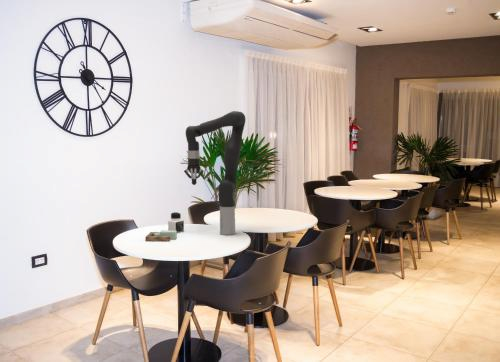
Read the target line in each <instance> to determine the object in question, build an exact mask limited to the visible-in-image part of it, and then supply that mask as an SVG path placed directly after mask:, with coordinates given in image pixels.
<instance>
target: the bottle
mask: <svg viewBox="0 0 500 362" xmlns="http://www.w3.org/2000/svg"><path fill="white" fill-rule="evenodd" d="M158 232H159V233H153V236H170V241H172V240H173V241H175V240H177V238H178V236H177V235H178V233H177V231H168V230H167V229H166V230H165V229H164V230H160V231H158Z"/></svg>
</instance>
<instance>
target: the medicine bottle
mask: <svg viewBox="0 0 500 362" xmlns="http://www.w3.org/2000/svg"><path fill="white" fill-rule="evenodd" d="M181 215H182V214H181V212H177V211H174V212H172V213H170V219H169V220H168V221H167V226H168V230H167V231H177V234H178V233H181V232H184V231H185V222H184V219H181V217H182V216H181Z"/></svg>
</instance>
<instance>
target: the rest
mask: <svg viewBox="0 0 500 362" xmlns="http://www.w3.org/2000/svg"><path fill="white" fill-rule="evenodd" d="M159 232H160V231H150V232H149V233H148V234H147V235H146V236H145V242H170V241H171V240H170V236H153V233H159Z"/></svg>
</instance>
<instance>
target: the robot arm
mask: <svg viewBox="0 0 500 362" xmlns="http://www.w3.org/2000/svg"><path fill="white" fill-rule="evenodd" d="M245 125H246V115H245V113H243V112H242V111H238V110H237V111H236V110H233V111H230V112H228V113H226V114H224V115H222V116H219V117H217V118H214V119H211V120H207V121H205V122H202V123H200V124H199V125H189V126H187V127H186V128H185V138H186V142H187V167H186V169H185V170H184V171H183V172H184V173H185V175H186V176H187V177H188V179H191V185H192V186H195V185H196V184H197V183H198V182H197V179H199V178H200V177H201V176H202V174H203V173H204V172H205V170H204V169H202V168H201V164H200V163H201V160H200V159H201V158H200V155H201V154H200V143H199V141H197V138H198V137H202V136H204V135H206V134H210V133H214V132H215V131H217V130H220V129H222V128H226V127H227V128H228V127H231V134H230V136H229V139H228V140H227V142H226V145H225V148H224V154H223V155H224V156H223V161H224V162H223V164H224V169H225V170H224V176H223V177H224V178H223V181H221V182H220V183H219V185H218V188H217V189H218V202H219V235H223V236H232V235H235V234H236V213H235V212H236V208H235V207H236V206H235V205H236V202H235V200H234V193H235V192H236V190H237V175H238V174H237V172H238V168H239V162H240V156H241V146H242V138H243V133H244V129H245ZM198 173H199V174H198Z"/></svg>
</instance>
